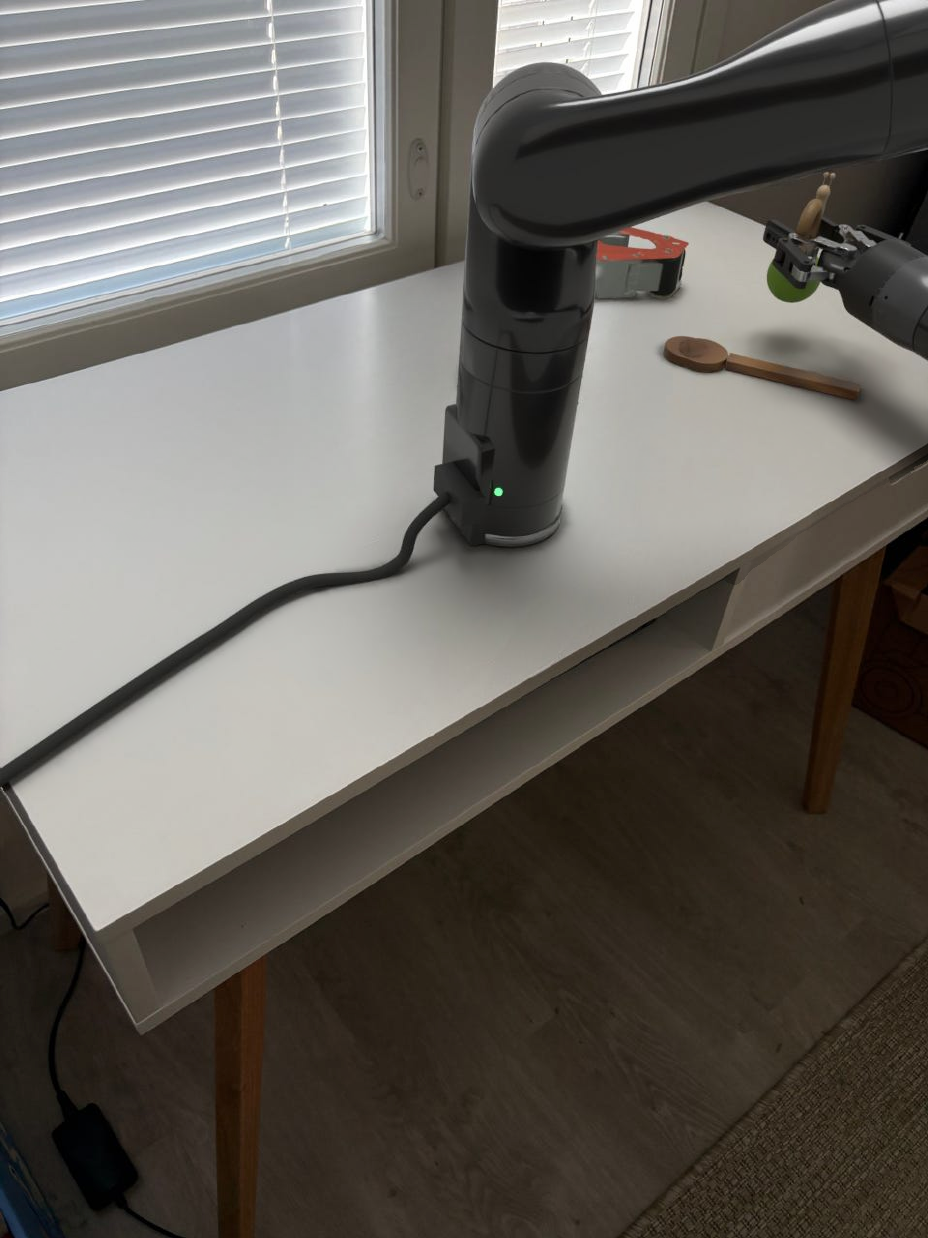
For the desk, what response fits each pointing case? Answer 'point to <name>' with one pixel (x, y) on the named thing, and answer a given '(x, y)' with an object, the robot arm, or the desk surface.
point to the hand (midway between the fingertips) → (788, 225)
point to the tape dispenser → (638, 265)
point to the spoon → (751, 366)
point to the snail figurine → (808, 229)
